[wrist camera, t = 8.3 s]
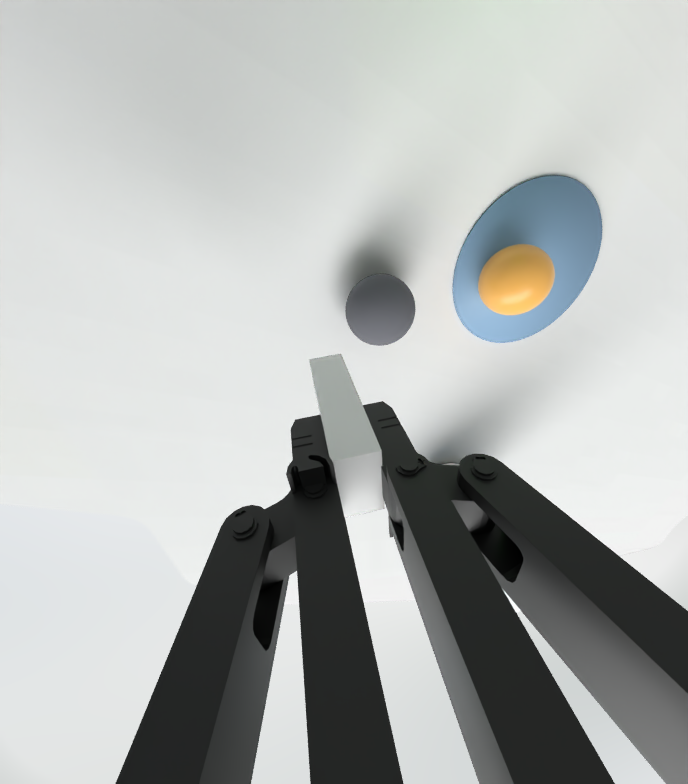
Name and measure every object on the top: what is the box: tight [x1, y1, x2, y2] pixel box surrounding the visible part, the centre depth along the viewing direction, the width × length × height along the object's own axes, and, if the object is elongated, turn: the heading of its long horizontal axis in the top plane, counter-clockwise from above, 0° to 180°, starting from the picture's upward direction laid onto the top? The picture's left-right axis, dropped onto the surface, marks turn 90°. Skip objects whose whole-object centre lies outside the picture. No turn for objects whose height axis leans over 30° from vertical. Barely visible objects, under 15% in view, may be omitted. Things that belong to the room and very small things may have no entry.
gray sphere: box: [346, 274, 415, 346], centre depth 25 cm, size 6×6×6 cm
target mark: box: [453, 176, 602, 343], centre depth 28 cm, size 14×14×1 cm
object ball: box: [478, 244, 555, 315], centre depth 25 cm, size 6×6×6 cm
